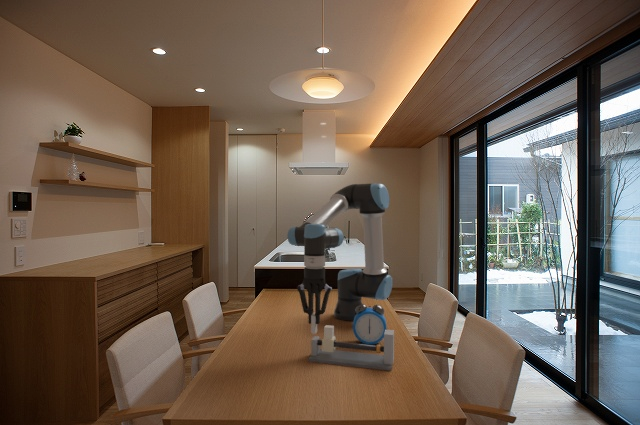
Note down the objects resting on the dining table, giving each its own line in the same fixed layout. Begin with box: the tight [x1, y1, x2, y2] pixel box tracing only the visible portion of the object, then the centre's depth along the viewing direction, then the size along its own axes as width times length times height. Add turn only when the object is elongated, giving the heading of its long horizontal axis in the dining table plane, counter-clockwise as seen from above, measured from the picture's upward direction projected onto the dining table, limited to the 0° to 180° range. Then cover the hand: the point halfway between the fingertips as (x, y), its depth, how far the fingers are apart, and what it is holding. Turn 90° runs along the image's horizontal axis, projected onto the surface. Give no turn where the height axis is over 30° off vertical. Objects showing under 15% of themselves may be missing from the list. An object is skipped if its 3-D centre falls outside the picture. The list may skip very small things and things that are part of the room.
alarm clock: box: [352, 303, 388, 345], centre depth 147 cm, size 13×6×15 cm, turn 81°
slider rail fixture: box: [308, 329, 395, 372], centre depth 130 cm, size 10×28×11 cm, turn 75°
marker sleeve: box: [321, 324, 337, 352], centre depth 132 cm, size 4×4×8 cm
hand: (314, 332), depth 134 cm, fingers closed
